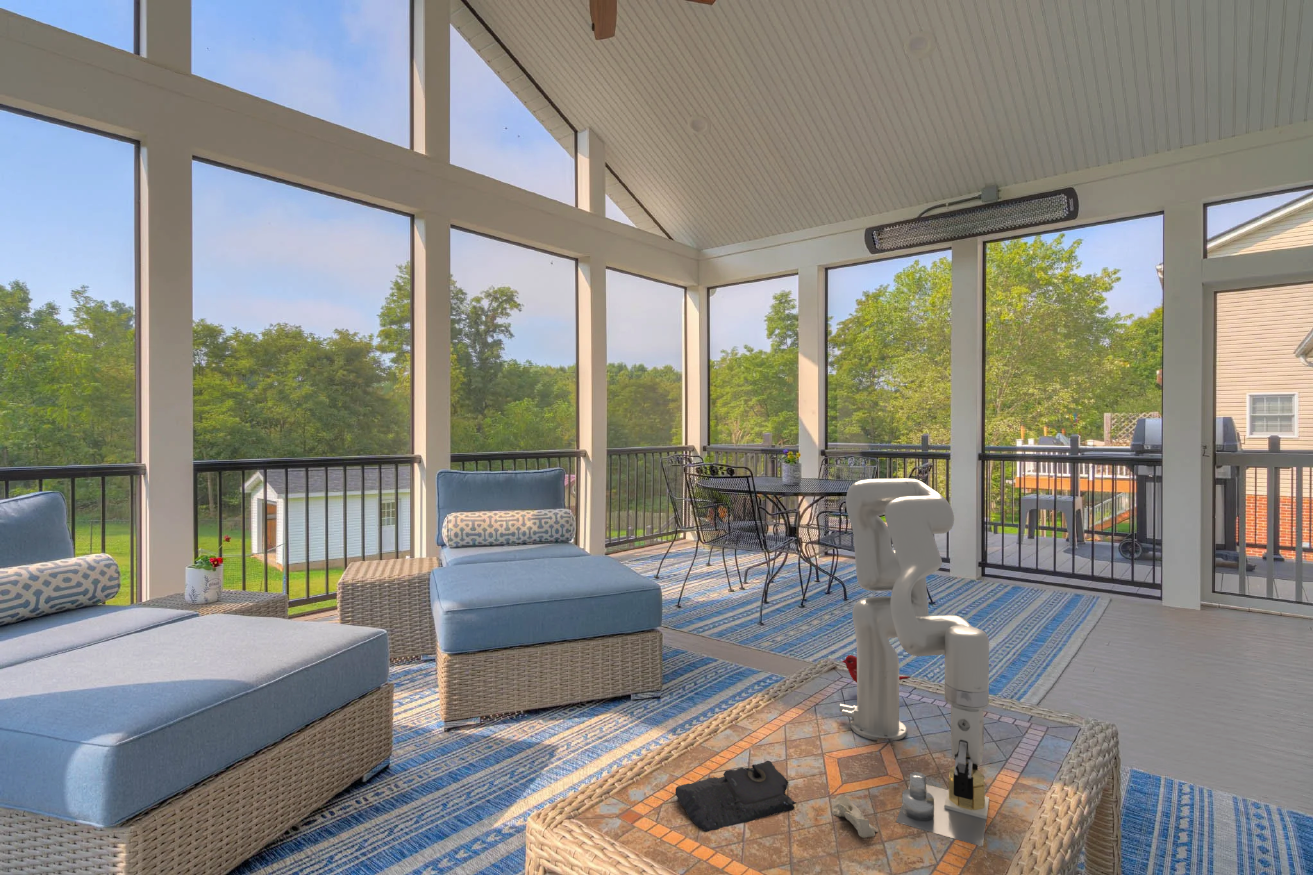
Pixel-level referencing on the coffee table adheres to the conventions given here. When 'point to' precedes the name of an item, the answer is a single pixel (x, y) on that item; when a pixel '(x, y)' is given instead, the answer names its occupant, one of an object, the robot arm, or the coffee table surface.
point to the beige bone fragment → (853, 816)
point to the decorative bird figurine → (852, 667)
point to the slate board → (948, 820)
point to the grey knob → (918, 799)
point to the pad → (978, 813)
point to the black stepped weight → (735, 797)
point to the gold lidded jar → (978, 791)
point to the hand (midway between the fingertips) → (965, 784)
